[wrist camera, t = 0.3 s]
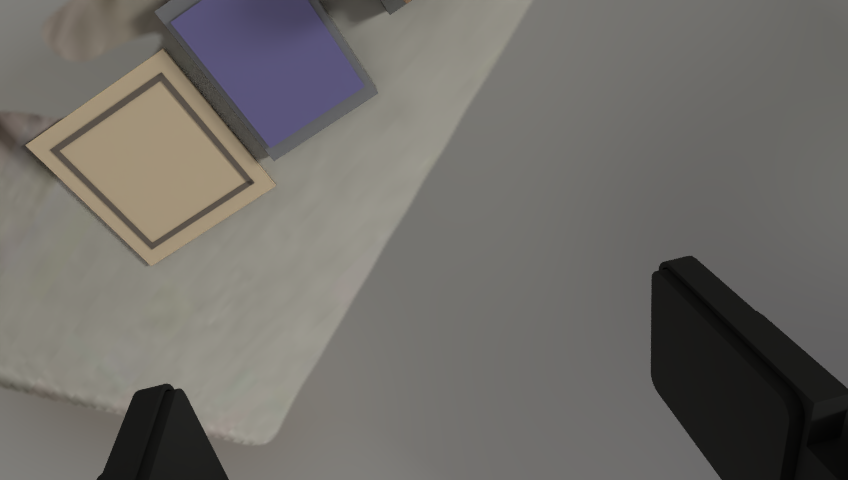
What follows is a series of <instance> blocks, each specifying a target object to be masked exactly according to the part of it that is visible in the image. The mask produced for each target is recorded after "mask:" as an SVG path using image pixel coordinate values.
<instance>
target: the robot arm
mask: <svg viewBox="0 0 848 480" xmlns="http://www.w3.org/2000/svg"><path fill="white" fill-rule="evenodd" d="M651 302H652V303H651V377H652V381H653V384H654V386H655V389H656V390H657V392H658V393H659V395H660V396H661V398H662V399H663V400H664V402H665V403H666V404H667V406H668V407H669V408H670V410H671V411H672V412H673V414H674V415H675V417H676V418H677V419H678V421H679V422H680V423H681V425H682V426H683V427H684V429H685V430H686V431H687V433H688V434H689V436H690V437H691V438H692V440H693V441H694V442H695V444H696V445H697V447H698V448H699V449H700V451H701V452H702V453H703V455H704V456H705V457H706V459H707V460H708V461H709V463H710V464H711V466H712V467H713V468H714V470H715V471H716V473H717V474H718V475H719V477H720V478H721V479H722V480H848V389H847V388H846V387H845V386H844V385H843V384H842V383H841V382H839V381H838V380H837V379H836V378H835V377H834V376H832V375H831V374H830V373H829V372H828V371H827V370H826V369H824V368H823V367H822V366H821V365H820V364H819V363H818V362H816V361H815V360H814V359H813V358H812V357H811V356H809V355H808V354H807V353H806V352H805V351H804V350H802V349H801V348H800V347H799V346H798V345H797V344H796V343H795V342H793V341H792V340H791V339H790V338H789V337H788V336H787V335H785V334H784V333H783V332H782V331H781V330H780V329H778V328H777V327H776V326H775V325H774V324H773V323H772V322H770V321H769V320H768V319H767V318H766V317H765V316H763V315H762V314H760V313H759V312H757V311H755V310H754V309H753V308H752V307H751V306H750V305H748V304H747V303H746V302H745V301H744V300H743V299H741V298H740V297H739V296H738V295H737V294H736V293H735V292H733V291H732V290H731V289H730V288H729V287H728V286H727V285H725V284H724V283H723V282H722V281H721V280H720V279H719V278H718V277H716V276H715V275H714V274H713V273H712V272H711V271H710V270H708V269H707V268H706V267H705V266H704V265H703V264H701V263H700V262H699V261H698V260H697V259H696V258H694V257H693V256H686V257H682V258H678V259H674V260H669V261H666V262H662V263H661V264H660V266H659V271H655V272H654V273H653V274H652V299H651ZM97 480H229V479H228V477H227V475H226V473H225V471H224V469H223V467H222V465H221V463H220V461H219V459H218V457H217V455H216V453H215V451H214V450H213V448H212V446H211V444H210V442H209V440H208V438H207V436H206V434H205V432H204V430H203V428H202V426H201V424H200V422H199V420H198V418H197V416H196V414H195V412H194V410H193V408H192V406H191V404H190V402H189V400H188V398H187V396H186V394H185V393H184V391H183V390H182V389H175V390H174V388H173V387H172V386H171V385H170V384H163V385H159V386H155V387H151V388H146V389H142V390H138V391H137V392H135V394H134V396H133V398H132V400H131V403H130V405H129V408H128V410H127V413H126V415H125V418H124V420H123V423H122V425H121V428H120V430H119V433H118V436H117V438H116V441H115V443H114V446H113V448H112V451H111V453H110V456H109V459H108V461H107V463H106V466H105V468H104V471H103V473H102V474H101V475H100V476H99V477H98V478H97Z"/></svg>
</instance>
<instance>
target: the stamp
mask: <svg viewBox="0 0 848 480" xmlns="http://www.w3.org/2000/svg"><path fill="white" fill-rule="evenodd" d="M410 1H411V0H381V2H382V4H383V5H384V7H385V9H386V10H387V12H388V13H389V14H390V15H391V14H392V13H394V12H395V11H397V10H398V9H400V8H401V7H403V6H404V5H405V4H407V3H408V2H410Z"/></svg>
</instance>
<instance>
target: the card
mask: <svg viewBox="0 0 848 480" xmlns="http://www.w3.org/2000/svg"><path fill="white" fill-rule="evenodd" d="M25 146H27V147H28V148H29V149H30V150H31V151H32V152H33V153H34V154H35V155H36V156H37V157H38V158H39V159H40V160H41V161H42V162H43V163H44V164H45V165H46V166H47V167H48V168H49V169H50V170H52V171H53V172H54V173H55V174H56V175H57V176H58V177H59V178H60V179H61V180H62V181H63V182H64V183H65V184H66V185H67V186H68V187H69V188H70V189H71V190H72V191H73V192H74V193H75V194H77V195H78V196H79V197H80V198H81V199H82V200H83V201H84V202H85V203H86V204H87V205H88V206H89V207H90V208H91V209H92V210H93V211H94V212H95V213H96V214H97V215H98V216H99V217H101V218H102V219H103V220H104V221H105V222H106V223H107V224H108V225H109V226H110V227H111V228H112V229H113V230H114V231H115V232H116V233H117V234H118V235H119V236H120V237H121V238H122V239H123V240H124V241H126V242H127V243H128V244H129V245H130V246H131V247H132V248H133V249H134V250H135V251H136V252H137V253H138V254H139V255H140V256H141V257H142V258H143V259H144V260H145V261H146V262H147V263H148V264H149V265H151V266H152V265H154V264H156V263H157V262H159V261H160V260H162V259H163V258H165V257H166V256H168V255H169V254H171V253H173V252H174V251H176V250H177V249H179V248H180V247H182V246H183V245H185V244H186V243H188V242H190V241H191V240H193V239H194V238H196V237H197V236H199V235H200V234H202V233H204V232H205V231H207V230H208V229H210V228H211V227H213V226H214V225H216V224H217V223H219V222H221V221H222V220H224V219H225V218H227V217H228V216H230V215H231V214H233V213H234V212H236V211H238V210H239V209H241V208H242V207H244V206H245V205H247V204H248V203H250V202H252V201H253V200H255V199H256V198H258V197H259V196H261V195H262V194H264V193H265V192H267V191H269V190H270V189H272V188H273V187H275V186H276V184H275V183H274V182H273V180H272V179H271V178H270V177H269V176H268V174H267V173H266V172H265V171H264V170H263V168H262V167H261V166H260V165H259V163H258V162H257V161H256V160H255V159H254V157H253V156H252V155H251V154H250V152H249V151H248V150H247V149H246V148H245V146H244V145H243V144H242V143H241V142H240V140H239V139H238V138H237V137H236V135H235V134H234V133H233V132H232V131H231V129H230V128H229V127H228V126H227V124H226V123H225V122H224V121H223V120H222V118H221V117H220V116H219V115H218V114H217V112H216V111H215V110H214V109H213V107H212V106H211V105H210V104H209V103H208V101H207V100H206V99H205V98H204V96H203V95H202V94H201V93H200V92H199V90H198V89H197V88H196V87H195V86H194V84H193V83H192V82H191V81H190V79H189V78H188V77H187V76H186V75H185V73H184V72H183V71H182V70H181V68H180V67H179V66H178V65H177V64H176V62H175V61H174V60H173V59H172V58H171V56H170V55H169V54H168V53H167V51H166V50H165V49H164V48H163V49H162V50H160V51H159V52H158V53H156V54H155V55H153V56H152V57H150V58H149V59H148V60H146V61H145V62H143V63H142V64H140V65H139V66H138V67H136V68H135V69H133V70H132V71H131V72H129V73H128V74H126V75H125V76H124V77H122V78H121V79H119V80H118V81H116V82H115V83H113V84H112V85H111V86H109V87H108V88H106V89H105V90H103V91H102V92H101V93H99V94H98V95H97V96H95V97H93V98H92V99H91V100H89V101H88V102H86V103H85V104H83V105H82V106H81V107H79V108H78V109H76V110H75V111H74V112H72V113H71V114H69V115H68V116H66V117H65V118H63V119H62V120H61V121H59V122H58V123H56V124H55V125H54V126H52V127H51V128H49V129H48V130H46V131H45V132H44V133H42V134H41V135H39V136H38V137H36V138H35V139H34V140H32V141H31V142H29V143H28V144H26V145H25Z"/></svg>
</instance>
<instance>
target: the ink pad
mask: <svg viewBox="0 0 848 480" xmlns="http://www.w3.org/2000/svg"><path fill="white" fill-rule="evenodd" d="M155 14H156V15H157V16H158V17H159V19H160V20H161V21H162V22H163V23H164V25H165V26H166V27H167V28H168V30H169V31H170V32H171V33H172V35H173V36H174V37H175V38H176V40H177V41H178V42H179V43H180V45H181V46H182V47H183V48H184V50H185V51H186V52H187V53H188V55H189V56H190V57H191V58H192V60H193V61H194V62H195V63H196V65H197V66H198V67H199V68H200V70H201V71H202V72H203V73H204V75H205V76H206V77H207V78H208V79H209V81H210V82H211V83H212V84H213V86H214V87H215V88H216V89H217V91H218V92H219V93H220V94H221V96H222V97H223V98H224V99H225V101H226V102H227V103H228V104H229V106H230V107H231V108H232V109H233V111H234V112H235V113H236V114H237V116H238V117H239V118H240V119H241V121H242V122H243V123H244V124H245V126H246V127H247V128H248V129H249V131H250V132H251V133H252V134H253V135H254V137H255V138H256V139H257V140H258V142H259V143H260V144H261V145H262V147H263V148H264V149H265V150H266V152H267V153H268V154H269V155H270V157H271V158H272V159H273V160H274V161H275V160H276V159H278V158H279V157H281V156H283V155H284V154H286V153H287V152H289V151H290V150H292V149H293V148H295V147H296V146H298V145H299V144H301V143H302V142H304V141H306V140H307V139H309V138H310V137H312V136H313V135H315V134H316V133H318V132H319V131H321V130H322V129H324V128H325V127H327V126H329V125H330V124H332V123H333V122H335V121H336V120H338V119H339V118H341V117H342V116H344V115H345V114H347V113H348V112H350V111H352V110H353V109H355V108H356V107H358V106H359V105H361V104H362V103H364V102H365V101H367V100H368V99H370V98H371V97H373V96H375V95H376V94H378V91H377V89H376V87H375V85H374V84H373V82H372V80H371V79H370V77H369V76H368V74H367V73H366V71H365V70H364V68H363V67H362V65H361V64H360V62H359V60H358V59H357V57H356V56H355V54H354V53H353V51H352V50H351V48H350V47H349V45H348V44H347V42H346V40H345V39H344V37H343V36H342V34H341V33H340V31H339V30H338V28H337V27H336V25H335V24H334V22H333V20H332V19H331V17H330V16H329V14H328V13H327V11H326V10H325V8H324V7H323V5H322V3H321V2H320V0H170V1H169V2H167V3H166V4H164V5H163V6H162V7H160V8H159V9H157V10H156V11H155Z"/></svg>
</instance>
